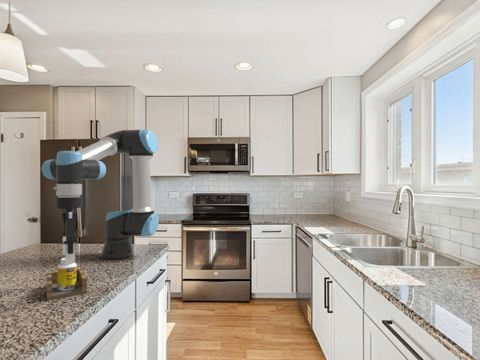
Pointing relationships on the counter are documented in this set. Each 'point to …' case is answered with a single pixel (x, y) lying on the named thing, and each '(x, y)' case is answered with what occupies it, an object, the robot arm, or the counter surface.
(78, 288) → the walnut u rest
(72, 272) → the supplement bottle
